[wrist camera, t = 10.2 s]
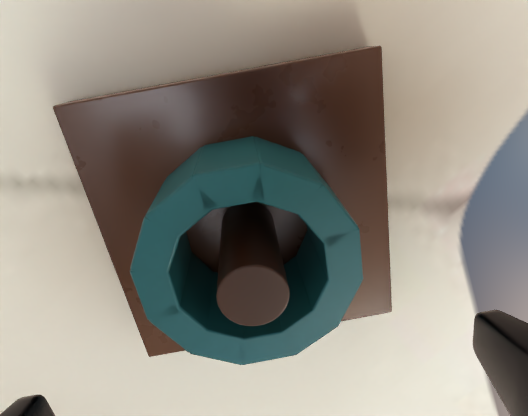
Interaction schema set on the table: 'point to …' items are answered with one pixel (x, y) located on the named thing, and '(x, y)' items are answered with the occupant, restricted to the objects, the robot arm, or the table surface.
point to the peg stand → (250, 214)
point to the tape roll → (205, 280)
